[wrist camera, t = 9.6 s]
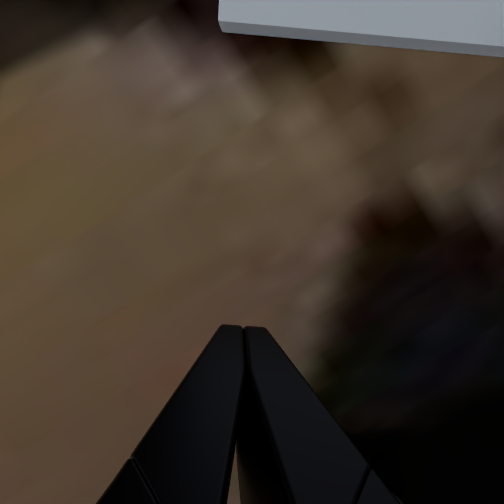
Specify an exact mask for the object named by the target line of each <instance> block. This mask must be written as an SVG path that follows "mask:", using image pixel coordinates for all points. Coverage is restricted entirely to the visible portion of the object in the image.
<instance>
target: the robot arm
mask: <svg viewBox="0 0 504 504" xmlns="http://www.w3.org/2000/svg"><path fill="white" fill-rule="evenodd" d="M235 446H236V455H237V468H238V479H239V490H240V501H241V504H403V502H402V499H401V497H400V495H399V494H398V493H397V492H396V491H395V490H393V489H392V488H391V487H390V486H389V485H388V484H387V483H385V482H384V481H383V480H382V479H381V478H380V477H379V475H378V474H377V473H376V472H375V470H374V469H370V464H369V463H368V461H367V460H366V459H365V457H364V456H363V455H362V453H361V452H360V451H359V450H358V448H357V447H356V446H355V444H354V443H353V442H352V440H351V439H350V438H349V436H348V435H347V434H346V432H345V431H344V430H343V429H342V427H341V426H340V425H339V423H338V422H337V421H336V419H335V418H334V417H333V415H332V414H331V413H330V411H329V410H328V409H327V407H326V406H325V405H324V404H323V402H322V401H321V400H320V398H319V397H318V396H317V394H316V393H315V392H314V390H313V389H312V388H311V386H310V385H309V384H308V383H307V381H306V380H305V379H304V377H303V376H302V375H301V373H300V372H299V371H298V369H297V368H296V367H295V365H294V364H293V363H292V362H291V360H290V359H289V358H288V356H287V355H286V354H285V352H284V351H283V350H282V348H281V347H280V346H279V344H278V343H277V342H276V341H275V339H274V338H273V337H272V335H271V334H270V333H269V331H268V330H267V329H266V328H264V327H255V326H245V327H244V328H242V327H241V326H239V325H226V324H223V325H221V326H220V327H219V328H218V329H217V331H216V332H215V334H214V335H213V337H212V338H211V340H210V341H209V342H208V344H207V345H206V347H205V348H204V350H203V351H202V353H201V354H200V355H199V357H198V358H197V360H196V361H195V363H194V364H193V366H192V367H191V369H190V370H189V371H188V373H187V374H186V376H185V377H184V379H183V380H182V382H181V383H180V384H179V386H178V387H177V389H176V390H175V392H174V393H173V395H172V396H171V398H170V399H169V400H168V402H167V403H166V405H165V406H164V408H163V409H162V411H161V412H160V413H159V415H158V416H157V418H156V419H155V421H154V422H153V424H152V425H151V426H150V428H149V429H148V431H147V432H146V434H145V435H144V437H143V438H142V440H141V441H140V442H139V444H138V445H137V447H136V448H135V450H134V451H133V453H132V454H131V459H128V460H127V461H126V462H125V464H124V465H123V467H122V468H121V470H120V471H119V472H118V474H117V475H116V477H115V478H114V480H113V481H112V482H111V484H110V485H109V487H108V488H107V489H106V491H105V492H104V493H103V495H102V496H101V497H100V499H99V500H98V501H97V503H96V504H227V499H228V492H229V486H230V479H231V473H232V466H233V460H234V453H235Z"/></svg>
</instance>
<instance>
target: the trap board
mask: <svg viewBox="0 0 504 504" xmlns="http://www.w3.org/2000/svg"><path fill="white" fill-rule="evenodd" d="M218 22H219V24H220V27H221V29H222V32H229V33H240V34H251V35H262V36H273V37H284V38H296V39H307V40H318V41H329V42H340V43H351V44H362V45H373V46H384V47H396V48H407V49H418V50H429V51H440V52H451V53H462V54H473V55H484V56H495V57H504V0H219V15H218Z"/></svg>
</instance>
